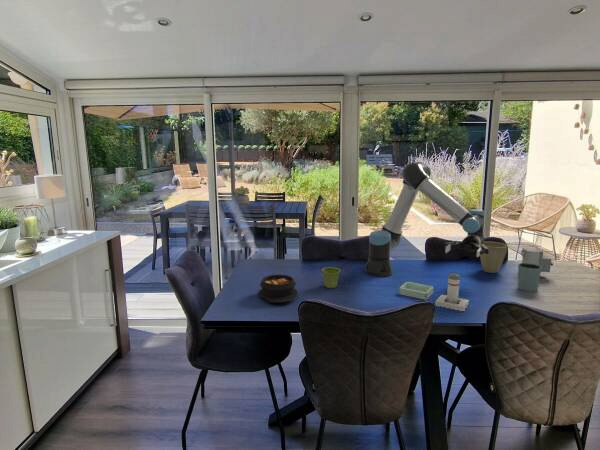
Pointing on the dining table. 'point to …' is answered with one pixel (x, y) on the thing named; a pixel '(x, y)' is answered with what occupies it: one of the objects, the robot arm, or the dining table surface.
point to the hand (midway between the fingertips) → (461, 252)
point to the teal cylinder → (528, 276)
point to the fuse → (453, 288)
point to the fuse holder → (461, 306)
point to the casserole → (278, 288)
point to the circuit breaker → (536, 258)
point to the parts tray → (416, 290)
